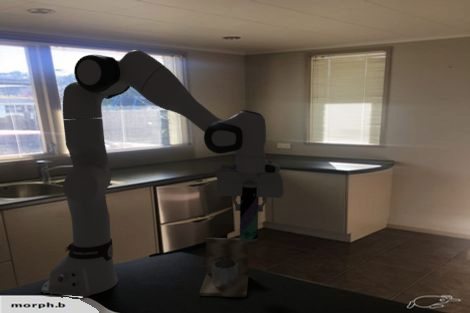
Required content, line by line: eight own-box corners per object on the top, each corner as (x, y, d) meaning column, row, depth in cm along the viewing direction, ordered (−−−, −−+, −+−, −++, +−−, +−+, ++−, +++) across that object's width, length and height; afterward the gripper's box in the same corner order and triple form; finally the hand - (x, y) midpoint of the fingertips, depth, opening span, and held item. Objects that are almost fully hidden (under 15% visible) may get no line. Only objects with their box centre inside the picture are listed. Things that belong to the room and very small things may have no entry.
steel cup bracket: (210, 288, 108) (210, 269, 107) (215, 273, 118) (215, 256, 117) (237, 288, 107) (236, 269, 107) (239, 274, 117) (239, 257, 117)
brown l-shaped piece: (199, 295, 105) (198, 253, 104) (207, 275, 119) (206, 237, 118) (246, 297, 104) (246, 254, 103) (248, 276, 118) (248, 238, 117)
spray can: (236, 240, 106) (238, 174, 104) (243, 235, 111) (244, 172, 109) (254, 243, 104) (255, 176, 102) (259, 237, 109) (261, 173, 107)
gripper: (214, 165, 103) (213, 212, 104) (284, 167, 101) (283, 215, 102) (217, 163, 109) (216, 206, 110) (283, 165, 107) (282, 209, 109)
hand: (249, 210), depth 106 cm, fingers closed on spray can, 5 cm apart
